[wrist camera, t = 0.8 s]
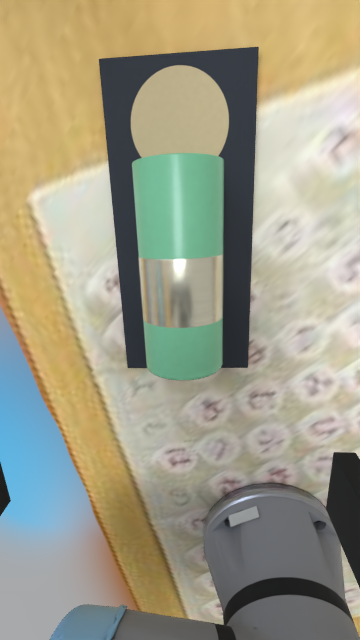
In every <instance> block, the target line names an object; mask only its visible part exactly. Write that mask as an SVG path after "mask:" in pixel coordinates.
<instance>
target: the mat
mask: <svg viewBox="0 0 360 640" xmlns="http://www.w3.org/2000/svg"><path fill="white" fill-rule="evenodd" d="M99 65H100V76H101V86H102V97H103V108H104V118H105V129H106V140H107V150H108V161H109V172H110V183H111V193H112V204H113V215H114V225H115V236H116V247H117V257H118V268H119V279H120V290H121V300H122V311H123V322H124V332H125V343H126V354H127V364H128V368H147V363H146V349H145V335H144V322H143V315H142V301H141V288H140V274H139V261H138V256H139V254H138V240H137V227H136V213H135V199H134V186H133V172H132V163H133V162H134V161H135V160H137V159H140V158H143V157H147V156H153V155H160V154H171V153H202V154H211V155H215V156H219V157H221V158H223V159H224V230H223V253H224V304H223V364H222V366H221V368H247V367H248V344H249V314H250V284H251V254H252V225H253V195H254V165H255V135H256V105H257V75H258V47H250V48H237V49H224V50H211V51H197V52H184V53H171V54H158V55H145V56H131V57H118V58H105V59H99Z"/></svg>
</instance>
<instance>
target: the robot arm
mask: <svg viewBox="0 0 360 640" xmlns="http://www.w3.org/2000/svg"><path fill="white" fill-rule="evenodd" d="M10 501H11V500H10V497H9V493H8V489H7V485H6V482H5V478H4V474H3V471H2V467H1V464H0V516H1V514H2V513H3V511H4V510H5V508H6V507H7V505H8V504H9V502H10ZM203 539H204V553H205V556H206V560H207V563H208V567H209V570H210V573H211V576H212V579H213V582H214V585H215V588H216V591H217V594H218V597H219V600H220V603H221V606H222V609H223V619H224V625H220V624H214V623H209V622H203V621H196V620H190V619H184V618H178V617H171V616H165V615H159V614H152V613H146V612H140V611H135V610H129V609H126V608H127V606H125V605H121V606H120V607H109V606H98V605H80V606H78V607H76V608H74V609H73V610H71V611H70V612H69V613H68V614H67V615H66V616H65V617H64V618H63V619H62V621H61V622H60V624H59V625H58V627H57V628H56V630H55V631H54V633H53V634H52V636H51V638H50V640H360V637H359V635H358V632H357V630H356V627H355V625H354V622H353V619H352V617H351V614H350V611H349V609H348V606H347V603H346V600H345V590H344V580H343V570H342V559H341V549H340V543H341V545H342V548H343V550H344V552H345V555H346V557H347V559H348V562H349V564H350V566H351V569H352V571H353V573H354V576H355V578H356V580H357V583H358V585H359V587H360V459H359V458H358V456H357V455H356V453H339V452H334V455H333V462H332V469H331V477H330V484H329V491H328V498H327V506H326V508H325V507H324V506H323V504H321V503H320V502H319V501H318V500H317V499H316V498H315V497H313V496H312V495H310V494H308V493H306V492H304V491H302V490H300V489H297V488H294V487H291V486H287V485H281V484H256V485H251V486H247V487H243V488H240V489H238V490H235V491H233V492H231V493H229V494H227V495H226V496H224V497H223V498H222V499H220V500H219V501H218V502H217V503H216V504H215V505H214V506H213V507H212V509H211V510H210V512H209V513H208V515H207V517H206V520H205V523H204V531H203Z"/></svg>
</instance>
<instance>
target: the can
mask: <svg viewBox="0 0 360 640" xmlns="http://www.w3.org/2000/svg"><path fill="white" fill-rule="evenodd" d="M132 172H133V186H134V199H135V213H136V227H137V240H138V254H139V256H138V261H139V274H140V288H141V301H142V315H143V322H144V335H145V349H146V363H147V368H148V369H149V371H150V372H151V373H153V374H154V375H157V376H159V377H162V378H166V379H171V380H194V379H200V378H204V377H207V376H210V375H212V374H214V373H216V372H217V371H218V370H219V369H220V368H221V366H222V364H223V304H224V253H223V230H224V159H223V158H221V157H219V156H215V155H211V154H202V153H171V154H160V155H153V156H147V157H143V158H140V159H137V160H135V161H134V162H133V163H132Z"/></svg>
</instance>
